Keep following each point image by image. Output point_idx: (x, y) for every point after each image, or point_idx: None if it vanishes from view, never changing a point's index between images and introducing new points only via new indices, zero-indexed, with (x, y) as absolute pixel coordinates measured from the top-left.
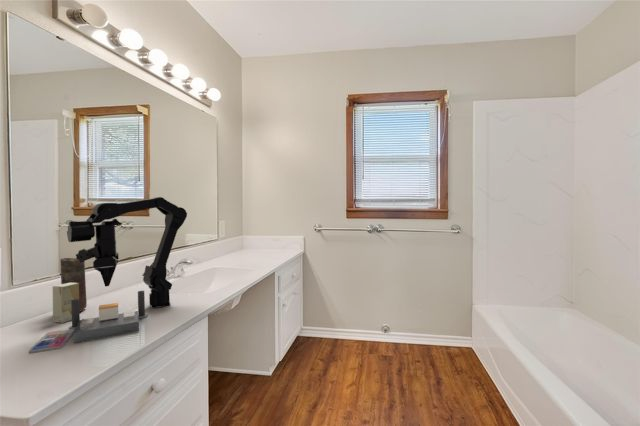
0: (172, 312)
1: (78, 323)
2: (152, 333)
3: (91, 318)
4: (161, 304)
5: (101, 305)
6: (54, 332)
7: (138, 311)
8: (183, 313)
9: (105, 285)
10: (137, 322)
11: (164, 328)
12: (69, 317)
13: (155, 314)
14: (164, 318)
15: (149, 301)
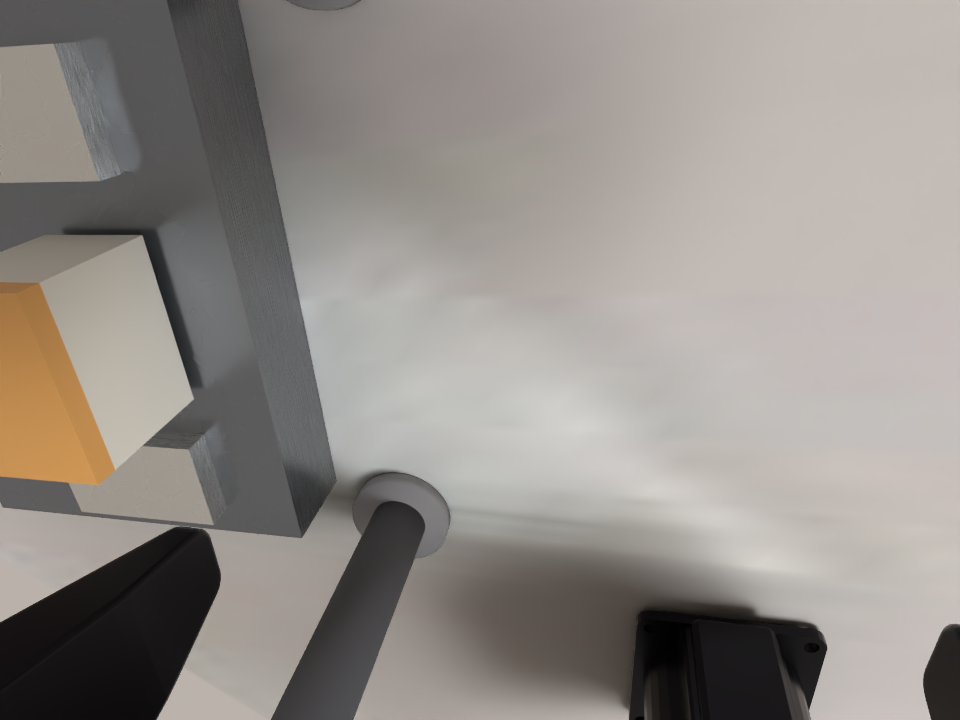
0: (415, 675)
1: (36, 3)
2: (11, 512)
3: (71, 156)
4: (642, 685)
5: (11, 317)
6: None
7: (371, 532)
8: None
9: (158, 545)
10: (3, 495)
11: (84, 574)
12: None
13: (426, 592)
14: (290, 613)
15: (765, 651)
